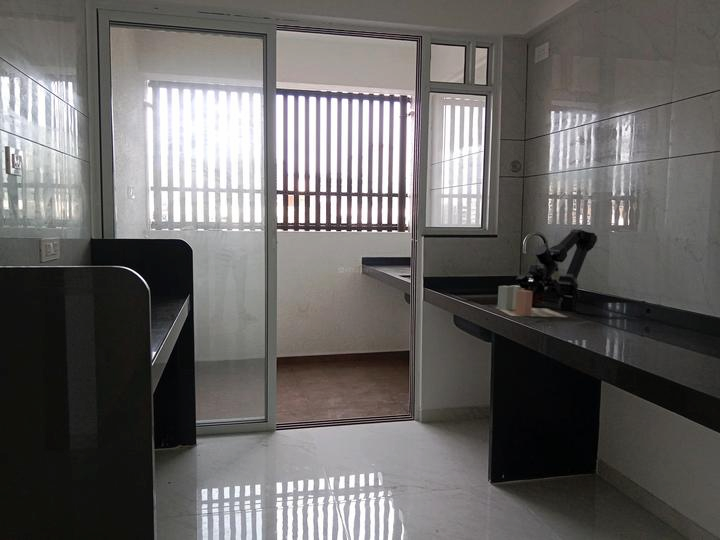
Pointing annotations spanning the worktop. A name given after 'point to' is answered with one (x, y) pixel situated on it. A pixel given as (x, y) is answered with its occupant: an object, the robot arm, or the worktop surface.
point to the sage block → (505, 297)
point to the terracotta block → (524, 302)
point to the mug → (536, 298)
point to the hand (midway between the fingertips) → (528, 298)
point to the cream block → (515, 295)
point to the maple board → (536, 312)
